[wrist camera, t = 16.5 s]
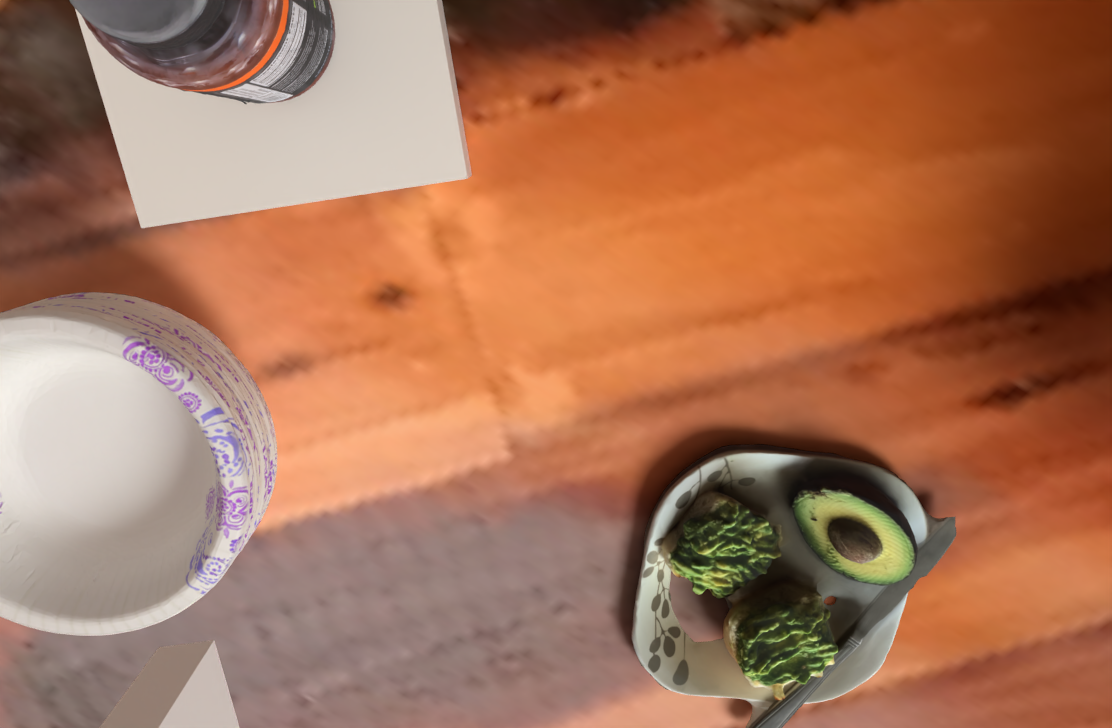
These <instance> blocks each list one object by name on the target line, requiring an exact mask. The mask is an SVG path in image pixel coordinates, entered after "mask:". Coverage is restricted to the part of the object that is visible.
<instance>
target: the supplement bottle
mask: <svg viewBox="0 0 1112 728" xmlns="http://www.w3.org/2000/svg"><path fill="white" fill-rule="evenodd" d="M69 1H70V2H71V4H72V5H73V6H74V7H75V9H76V10H77V11H78V12H79V13H80V14H81V15H82V17H83V19H84V21H85V24H86V25H87V27H88V29H89V30H90V31H91V32H92V34H93V35H94V36H95V38H96V39H97V41H98V42H99V43H100V44H101V45H102V46H103V47H104V48H105V49H106V50H107V51H108V52H109V53H110V54H111V55H112V56H113V57H114V58H115V59H116V60H118V61H119V62H120V63H121V64H123V65H124V66H125V67H127V68H128V69H130V70H131V71H133V72H134V73H136V74H137V75H139V76H141V77H143V78H145V79H147V80H150V81H152V82H155V83H157V84H161V85H164V86H168V87H172V88H177V89H180V90H182V91H192V92H196V93H201V94H205V95H206V94H207V95H214V96H217V97H224V98H229V99H234V100H238V101H241V102H243V103H244V104H247V103H246V102H248V103H249V102H251V103H258V104H261V103H276V102H283V101H287V100H290V99H293V98H295V97H297V96H300V95H301V94H303V93H305V92H306V91H308V90H309V89H310V88H311V87H313V86H314V85H315V84H316V82H317V81H318V80H319V79H320V78H321V77H322V75H323V73H324V72H325V70H326V69H327V67H328V65H329V62H330V59H331V57H332V53H333V50H334V44H335V21H334V16H333V11H332V8H331V4H330V1H329V0H69ZM244 101H245V102H244Z"/></svg>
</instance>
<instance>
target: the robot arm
mask: <svg viewBox="0 0 1112 728" xmlns="http://www.w3.org/2000/svg"><path fill="white" fill-rule="evenodd" d="M100 728H239V724H238V721H237V717H236V714H235V710H234V707H233V704H232V700H231V697H230V693H229V690H228V686H227V683H226V679H225V676H224V672H223V669H222V666H221V662H220V659H219V655H218V652H217V648H216V645H215V641H214V640H211V641H204V642H197V643H189V644H182V645H174V646H167V647H159V648H158V649H157V651H156V652H155V653H154V655H153V656H152V657H151V659H150V660H149V661H148V663H147V664H146V665H145V667H144V668H143V670H142V671H141V672H140V674H139V675H138V676H137V678H136V679H135V680H134V682H133V683H132V684H131V686H130V687H129V688H128V690H127V691H126V693H125V694H124V695H123V697H122V698H121V699H120V701H119V702H118V703H117V705H116V706H115V707H114V709H113V710H112V711H111V713H110V714H109V716H108V717H107V718H106V720H105V721H104V722H103V724H102V725H101V726H100Z"/></svg>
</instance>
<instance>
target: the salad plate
mask: <svg viewBox="0 0 1112 728" xmlns="http://www.w3.org/2000/svg"><path fill="white" fill-rule="evenodd" d="M955 537H956V527H955V517H949V518H947V517H946V518H941V519H938V518H934V517H932V516H931V515H929V514H928V513H927V512H926V511H925V509H924V508H923V507H922V505H921V503H920V501H919V500H918V498H917V497H916V495H915V494H914V492H913V490H912V489H911V488H910V487H908V485H907V484H906V483H905V482H904V481H903V480H901V479H899V478H898V476H897V475H896V474H894V473H893V472H891V471H889V470H887V469H885V468H883V467H880V466H877V465H874V464H871V463H867V462H864V461H859V460H853V459H849V458H845V457H842V456H839V455H836V454H833V453H819V452H810V451H803V450H796V449H790V448H783V447H776V446H770V445H762V444H756V445H728V446H724V447H720V448H718V449H716V450H714V451H713V452H711V453H709V454H707V455H705V456H704V457H702V458H700V459H699V460H697V461H696V462H694V463H693V464H691V465H690V466H689V467H687V468H686V469H684V470H683V471H681V472H680V473H679V475H678V476H677V477H676V478H675V479H674V480H673V481H672V482H671V483H670V484H669V485H668V486H667V488H666V489H665V490H664V491H663V493H662V495H661V496H660V498H659V500H658V502H657V504H656V506H655V508H654V509H653V512H652V514H651V516H650V519H649V521H648V524H647V527H646V530H645V535H644V554H643V561H642V567H641V571H640V577H639V582H638V587H637V591H636V600H635V607H634V614H633V629H632V642H633V645H634V650H635V652H636V654H637V656H638V658H639V662H640V664H641V666H643V667H644V668H645V669H646V670H647V671H648V672H649V673H650V675H651V676H653V677H654V679H655V680H656V681H657V682H658V683H659V685H661V686H662V687H664V688H665V689H667V690H671V691H674V692H677V693H681V694H685V695H694V696H709V697H726V698H738V699H743V700H746V701H748V702H750V703H751V705H752V714H751V718H750V720H749V722H748V724H747V726H746V728H782V727H783V726H784V725H785V723H786V722H787V721H788V720H789V719H790V718H791V717H792V716H793V715H794V714H795V712H796V711H797V710H798V709H799V708H800V707H801V706H802V705H803V704H807V703H815V702H822V701H826V700H831V699H834V698H836V697H839V696H841V695H843V694H845V693H847V692H849V691H851V690H852V689H854V688H855V687H857V686H859V685H860V684H862V683H864V682H865V681H867V680H868V679H870V678H871V677H872V676H873V675H874V674H875V673H876V672H877V671H878V670H879V669H880V667H881V666H882V664H883V663H884V661H885V657H886V655H887V653H888V652H889V650H890V647H891V645H892V643H893V640H894V637H895V634H896V631H897V628H898V625H899V620H900V618H901V615H902V612H903V609H904V606H905V603H906V599H907V594H908V591H909V590H910V589H912V588H913V587H914V585H915V583H916V582H917V580H918V579H919V578H921V577H924V576H927V574H928V573H929V572H930V571H931V569H932V568H933V567H934V566H935V565H936V564H937V562H938V561H939V560H940V559H941V557H942V556H943V554H944V553H945V552H946V551H947V549H948V548H949V546H950V545H951V543H952V542H953V540H954V538H955ZM671 571H672V572H673V573H674V575H676V576H677V577H679V578H680V577H684V578H686V579H688V580H690V581H691V582H692V583H693V592H695V593H696V594H702V593H703V592H704V591H705V590H706V589H709V590H710V591H711V593H712V595H714V596H715V597H717V598H724V597H725V598H726V601H727V604H728V606H729V612H728V614H727V616H726V618H725V620H724V625H723V637H724V638H722V639H718V640H714V641H708V642H694V641H693V640H692V639H691V638H690V637H689V636H688V635H687V634H686V633H685V632H684V631H683V629H682V628H681V626H680V624H679V622H678V620H677V618H676V616H675V614H674V612H673V609H672V606H671V596H670V593H669V585H670V574H671ZM829 596H834V597H836V602H835V604H833V605H826V604H824V600H825V599H826V598H827V597H829Z"/></svg>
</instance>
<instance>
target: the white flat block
mask: <svg viewBox="0 0 1112 728" xmlns="http://www.w3.org/2000/svg"><path fill="white" fill-rule="evenodd" d="M329 1H330V4H331V8H332V11H333V16H334V21H335V44H334V50H333V53H332V57H331V59H330V62H329V65H328V67H327V69H326V70H325V72H324V73H323V75H322V77H321V78H320V79H319V80H318V81H317V82H316V84H315V85H314V86H313V87H311V88H310V89H309V90H308V91H306V92H305V93H303V94H301V95H300V96H297V97H295V98H293V99H290V100H287V101H283V102H276V103H261V104H258V103H251V102H249V103H248V102H246V103H247V104H244V103H243V102H241V101H238V100H234V99H229V98H224V97H217V96H214V95H207V94H206V95H205V94H201V93H196V92H192V91H182V90H180V89H177V88H172V87H168V86H164V85H161V84H157V83H155V82H152V81H150V80H147V79H145V78H143V77H141V76H139V75H137V74H136V73H134V72H133V71H131V70H130V69H128V68H127V67H125V66H124V65H123V64H121V63H120V62H119V61H118V60H116V59H115V58H114V57H113V56H112V55H111V54H110V53H109V52H108V51H107V50H106V49H105V48H104V47H103V46H102V45H101V44H100V43H99V42H98V41H97V39H96V38H95V36H94V35H93V34H92V32H91V31H90V30H89V29H88V27H87V25H86V24H85V21H84V19H83V17H82V15H81V14H80V13H79V12H78V11H77V10H76V9H75V10H76V14H77V17H78V20H79V24H80V27H81V30H82V34H83V37H84V40H85V43H86V47H87V50H88V53H89V57H90V60H91V63H92V67H93V70H94V73H95V77H96V80H97V83H98V87H99V90H100V93H101V96H102V100H103V103H104V106H105V110H106V113H107V116H108V120H109V123H110V126H111V130H112V133H113V136H114V140H115V143H116V146H117V149H118V153H119V156H120V159H121V163H122V166H123V169H124V173H125V176H126V179H127V183H128V186H129V189H130V193H131V196H132V199H133V202H134V206H135V209H136V212H137V216H138V219H139V222H140V226H141V228H146V227H153V226H159V225H166V224H172V223H179V222H185V221H192V220H199V219H205V218H212V217H218V216H225V215H231V214H238V213H245V212H251V211H258V210H264V209H271V208H277V207H284V206H290V205H297V204H304V203H310V202H317V201H323V200H330V199H336V198H343V197H350V196H356V195H363V194H369V193H376V192H382V191H389V190H395V189H402V188H409V187H415V186H422V185H428V184H435V183H441V182H448V181H454V180H461V179H468V178H469V177H470V176H472V172H471V166H470V161H469V155H468V149H467V143H466V137H465V132H464V126H463V120H462V114H461V108H460V103H459V97H458V91H457V85H456V79H455V74H454V68H453V62H452V56H451V50H450V45H449V39H448V33H447V27H446V21H445V16H444V10H443V4H442V0H329ZM244 102H245V101H244Z"/></svg>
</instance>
